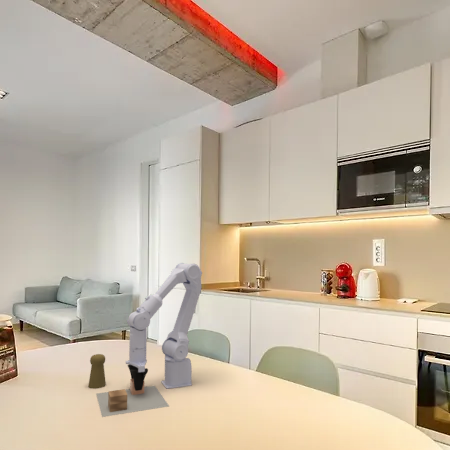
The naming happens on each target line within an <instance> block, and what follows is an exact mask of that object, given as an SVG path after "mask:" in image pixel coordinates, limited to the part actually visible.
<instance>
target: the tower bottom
mask: <svg viewBox="0 0 450 450" xmlns="http://www.w3.org/2000/svg"><path fill="white" fill-rule="evenodd" d="M108 407H109V411H110V412H115V411H121V410H127V402H124V403H118V404H111V405H110V402H109V399H108Z"/></svg>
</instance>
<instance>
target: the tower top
mask: <svg viewBox="0 0 450 450" xmlns="http://www.w3.org/2000/svg"><path fill="white" fill-rule="evenodd" d="M125 390H126V389H125V388H124V389H117V390H111V391H110V390H108V391H107V392H108V399H109V402H110V405H111V404H118V403H124V402H127V393H126V391H125Z"/></svg>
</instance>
